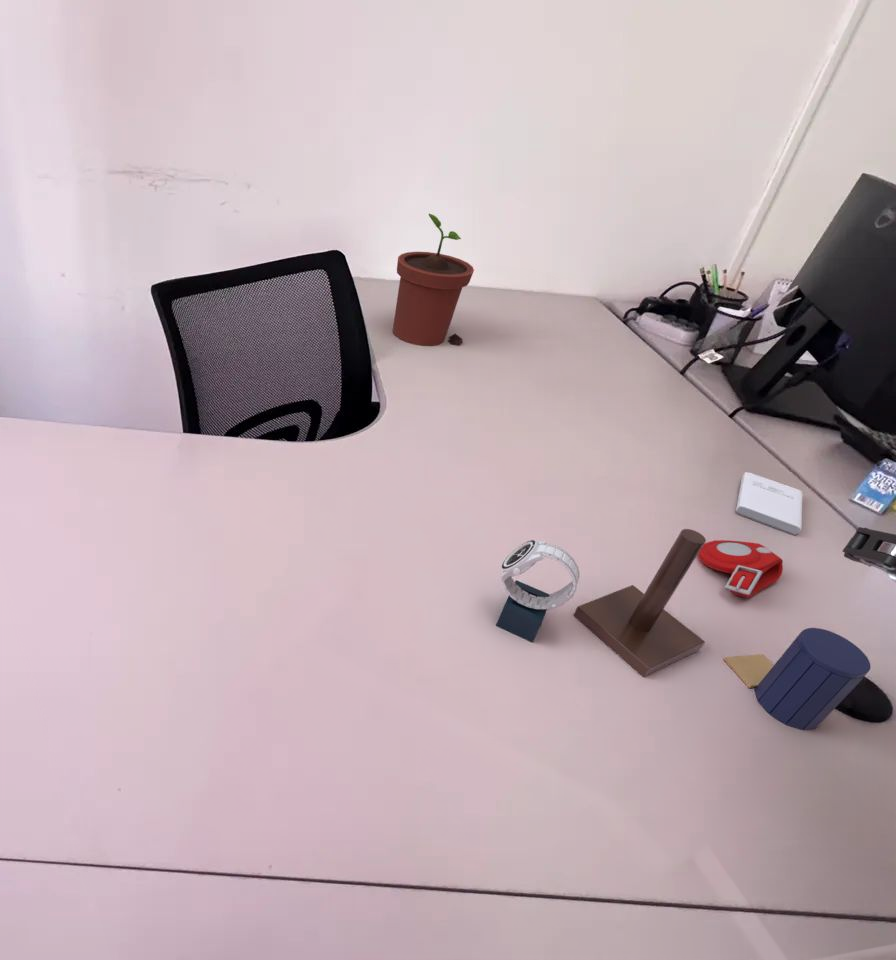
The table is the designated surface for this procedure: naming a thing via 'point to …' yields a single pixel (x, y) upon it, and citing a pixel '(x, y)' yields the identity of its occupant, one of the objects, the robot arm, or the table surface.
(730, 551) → the tracker holder
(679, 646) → the stand
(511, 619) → the watch
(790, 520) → the hard drive
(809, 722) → the cap
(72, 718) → the table surface
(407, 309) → the potted plant
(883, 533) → the robot arm
